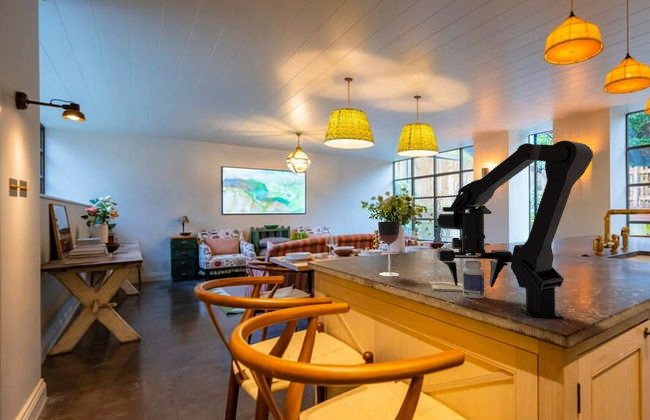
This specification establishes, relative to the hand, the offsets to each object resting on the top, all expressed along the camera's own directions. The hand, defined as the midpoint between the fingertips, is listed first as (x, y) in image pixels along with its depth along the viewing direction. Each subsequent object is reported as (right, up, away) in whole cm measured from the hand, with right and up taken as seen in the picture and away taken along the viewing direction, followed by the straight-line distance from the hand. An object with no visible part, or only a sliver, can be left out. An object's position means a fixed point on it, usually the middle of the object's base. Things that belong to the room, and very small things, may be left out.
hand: (473, 286), depth 90 cm
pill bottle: (0, -3, 0) cm, 3 cm away
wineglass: (-17, -3, +33) cm, 37 cm away
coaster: (-3, -3, +11) cm, 12 cm away
